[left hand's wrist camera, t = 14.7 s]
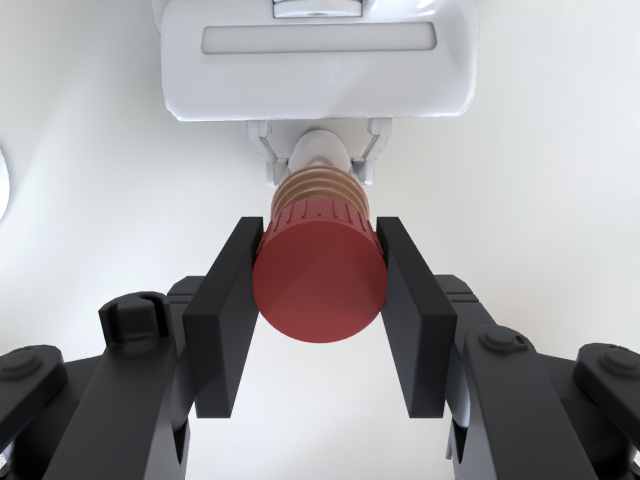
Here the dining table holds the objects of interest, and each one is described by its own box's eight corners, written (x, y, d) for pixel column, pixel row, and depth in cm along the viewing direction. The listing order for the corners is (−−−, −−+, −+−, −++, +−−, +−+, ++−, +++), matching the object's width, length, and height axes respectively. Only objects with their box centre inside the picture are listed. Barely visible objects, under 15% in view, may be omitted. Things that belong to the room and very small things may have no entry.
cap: (300, 321, 15) (296, 365, 13) (237, 232, 14) (220, 262, 12) (398, 271, 15) (414, 308, 12) (342, 172, 13) (348, 191, 11)
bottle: (284, 143, 34) (217, 243, 12) (333, 120, 33) (360, 181, 11) (307, 191, 35) (285, 359, 13) (354, 170, 35) (415, 310, 13)
